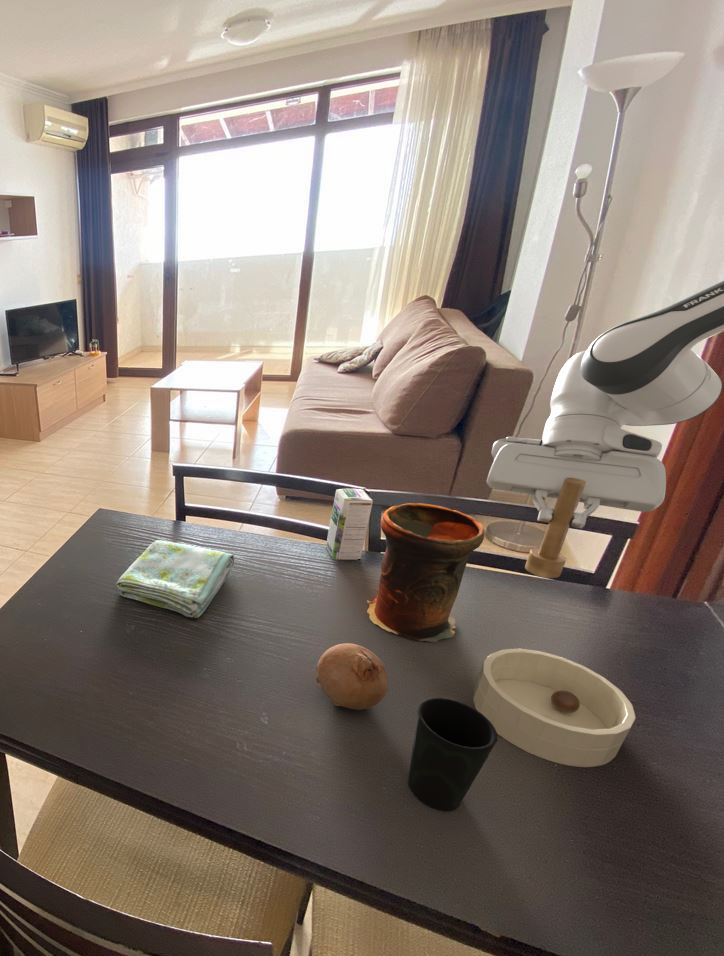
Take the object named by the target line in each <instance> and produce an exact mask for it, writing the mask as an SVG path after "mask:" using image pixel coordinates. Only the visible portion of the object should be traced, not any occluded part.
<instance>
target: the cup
mask: <svg viewBox="0 0 724 956" xmlns="http://www.w3.org/2000/svg"><path fill="white" fill-rule="evenodd" d="M414 726H415V727H414V732H413V733H414V734H413V741H412V748H411V755H410V763H409V770H408V778H407V785H408V788H409V790H410V792H411V793H412V795H413V796H414V797H415V798H416V799H417V801H418V800H419V802H421V803H422V804H424V805H425V806H426V807H429V808H430V809H433V810H435V811H441V812H453V811H456V810H457V809H458V808H459V807H460V805H461V804H462V801H463V800H464V798H465V796H466V795H467V793H468V792H469V790H470V788H471V786H472V784H474V782H475V780H476V778H477V776H478V775H479V773H480V771H481V769H482V768H483V766H484V764H485V763H486V761H487V759H488V757H489V755H490V754H491V752H492V750H493V749H494V747H495V745H496V744H497V741H498V733H497V732H496V730H495V728H494V726H493V725H492V723H491V722H490V721H489V720H488V719H487V718H486V717H485V716H484V715H483V714H481V713H480V712H478V711H477V710H476V708H474V707H472V706H470V705H468V704H466V703H465V702H461V701H458V700H455V699H451V698H447V697H446V698H444V697H431V698H427V699H424V700H423V701H421V702H420V703H419V705H418V706H417V713H416V719H415V725H414Z"/></svg>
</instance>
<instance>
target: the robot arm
mask: <svg viewBox="0 0 724 956" xmlns="http://www.w3.org/2000/svg"><path fill="white" fill-rule="evenodd" d="M723 332H724V280H722V281H720V282H717V283H715V284H714V285H711V286H709V287H707V288H705V289H702V290H701V291H699V292H696V293H695V294H692V295H690V296H688V297H686V298H684V299H681V300H679V301H677V302H675V303H673V304H671V305H669V306H667V307H664V308H662V309H659V310H657V311H655V312H652V313H649V314H647V315H643V316H641V317H640V316H639V317H637V318H634V319H631V320H629V321H625V322H622V323H620V324H618V325H615V326H612V328H609V329H608V330H606V331H605V332H603V333H602V334H600V335H599V336H597V337H596V338H595V340H593V341H592V342H591V344H590V345H589V346H588V348H587V349H585V350H582V351H579V352H577V353H576V354H574V355H573V356H572V357H570V358H569V359H568V360H567V361H566V362H565V364H564V365H563V367H562V368H561V369H560V371H559V373H558V376H557V378H556V381H555V383H554V387H553V389H552V393H551V397H550V402H549V407H550V415H549V417H548V418H547V420H546V422H545V424H544V428H543V432H542V437H541V439H536V438H521V437H516V436H507V437H505V438H500V439H498V440H496V441H494V443H493V444H492V448H491V451H490V454H491V457H492V458H493V462H492V464H491V466H490V470H489V472H488V475H487V479H486V484H487V485H488V487H489V488H490V489H493V490H498V491H505V492H511V493H519V494H524V495H532V503H533V504H534V506H535V508H536V510H537V511H538V515H537V522H542V523H548V524H549V523H550V521H551V520H552V514H553V512H554V508H548V506H547V504H546V503H545V501H546V499H547V498H549V499H550V498H551V499H556V500H557V499H558V496H559V493H560V490H561V487H562V485H563V482H564V479H565V478H578V479H582V480H584V481H585V482H586V484H585V487H584V489H583V492H582V495H581V497H580V500H579V503H583V507H582V508H583V510H584V511H583V512H582V513H578V512H575V513H574V516H573V519H572V521H571V524H570V527H572V528H575V529H583V528H584V527H585V526H586V523H587V518H588V517H589V516H591V514H593V513H595V511H596V510H597V509H598V508H599V507H600V506H603V507H608V508H615V509H622V510H629V511H635V512H641V513H649V512H652V511H654V510H656V509H657V508H659V507H660V506H661V505H662V504H663V503H664V500H665V496H666V489H667V474H666V473H667V472H666V467H665V465H664V463H663V462H662V461H661V460H660V459H658V457H659V455H660V454H661V451H662V450H663V444H662V442H660V441H658V440H656V439H653V438H650V437H646V436H644V435H640V434H637V433H634V432H631V431H628V430H626V429H623V428H622V427H623V426H624V425H625V426H631V427H646V426H648V427H649V426H668V425H674V424H680V423H684V422H687V421H690V420H692V419H694V418H696V417H698V416H701V415H702V414H704V413H705V412H707V411H708V410H709V409H710V408H711V407H713V406H714V404H715V403H716V402H717V401H718V399H719V398H720V396H721V394H722V391H723V381H722V378H721V377H720V376H719V375H718V374H717V373H716V372H715V370H713V368H712V367H711V366H710V364H708V363H707V362H706V361H705V360H704V359H703V358H702V357H700V356H699V355H698V354H697V353H696V352H695V351H694V350H693V349H692V348H693V347H694V346H696V345H698V343H700V342H702V341H705V340H707V339H709V338H711V337H714V336H716V335H718V334H721V333H723Z"/></svg>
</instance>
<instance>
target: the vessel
mask: <svg viewBox="0 0 724 956" xmlns="http://www.w3.org/2000/svg"><path fill="white" fill-rule="evenodd" d="M380 528H381V531H382V533H383V535H384V536H385V544H386V549H385V551H384V553H383V557H382V561H381V568H380V569H381V570H380V576H379V582H378V590H377V596H376V597H374V598H373V600H372V601H370V600H369V599H367V600H366V602H367V604H368V609H367V610H366V613H367V614H368V615H369V620H370V621H371V622H372V623H373V624H374V625H377V626H379V627H380V628H381V629H383V630H385V631H387V632H389V633H393V634H395V635H400V636H402V637H404V636H405V637H406V638H407V639H409V640H415V641H419V642H424V641H425V642H428V643H429V642H433V643H437V642H438V641H440V640H444V639H445V640H446V639H450V638H453V637H454V634H455V633H456V631H454V630H453V629H455V628H456V629H457V627H456V625H455V623H456V619H455V618H453V617H452V616H451V612H452V609H453V606H454V604H455V602H456V599H457V598H458V594H459V590H460V587H461V584H462V580H463V576H464V573H465V570H466V567H467V564H468V561H469V557H470V554H471V553H473V552H474V551H475V550H476V549H478V548H480V547H481V545H482V544H483V542H484V540H485V532H486V531H485V529H484V527H483V525H482V524H481V522H480V521H479V520H478V519H477V518H474V516H472V515H468V514H467V513H464V512H461V511H458V510H455V509H452V508H449V507H445V506H441V505H435V504H429V503H421V502H419V503H413V502H409V503H403V504H399V505H393V506H391V507H389V508H388V509H386V510H384V513H383V515H382V516H381V518H380Z"/></svg>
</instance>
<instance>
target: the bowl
mask: <svg viewBox="0 0 724 956" xmlns="http://www.w3.org/2000/svg"><path fill="white" fill-rule="evenodd" d="M561 690H563V691H568V692H571V693H572V694H574V695H575V696H576V697H577V698H578V700H579V702H580V707H579V709H578V710H577V711H575V712H573V713H565V712H561V711H559V710H558V709H556V708H555V707H554V706H553V704H552V702H551V696H552V694H553V693H554V692H556V691H561ZM472 699H473V700H472V701H473V704H474V707H475V709H476V710H477V711H478V712H480V713H481V714H483V715H484V716H485V717H486V718H487V719H488V720H489V721H490V722H491V723H492V725H493V726H494V728H495V730H496V732H497V735H499V736H500V737H501V738H503V739H504V740H506V741H507V742H509V743H510V744H512V745H513V746H515V747H516V748H519V749H521V750H523V751H525V752H526V753H528V754H531V755H533V756H536V757H537V758H540V759H543V760H545V761H549V762H551V763H556V764H559V765H564V766H570V767H577V768H596V767H600V766H604V765H607V764H608V763H610V762H612V761H613V760H614V759H615V758H616V757H617V755H618V752H619V751H620V748H621V747H622V745H623V744H624V741H626V740H625V739H626V738H627V736H628V735H629V732H630V731H631V729H632V726H633V725H634V722H635V721H636V719H637V717H636V713H635V710H634V706H633V704H632V702H631V701H630V700H629V699H628V698H627V696H626V695H625V694H624V692H623V691H622V690H621V689H620V688H618V687H617V686H616V685H614V684H613V683H612V682H611V681H609V680H608V679H607V678H606V677H604V676H602V675H600V674H599V673H597V672H596V671H594V670H592V669H590V668H588V667H586V666H585V665H582V664H580V663H578V662H576V661H573V660H570V659H568V658H565V657H562V656H559V655H556V654H553V653H548V652H544V651H542V650H533V649H525V648H508V649H507V648H506V649H501V650H497V651H495V652H491V653H490V654H489V655H487V657H486V659H484V661H483V663H482V665H481V668H480V672H479V675H478V677H477V679H476V683H475V686H474V691H473V696H472Z"/></svg>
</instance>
